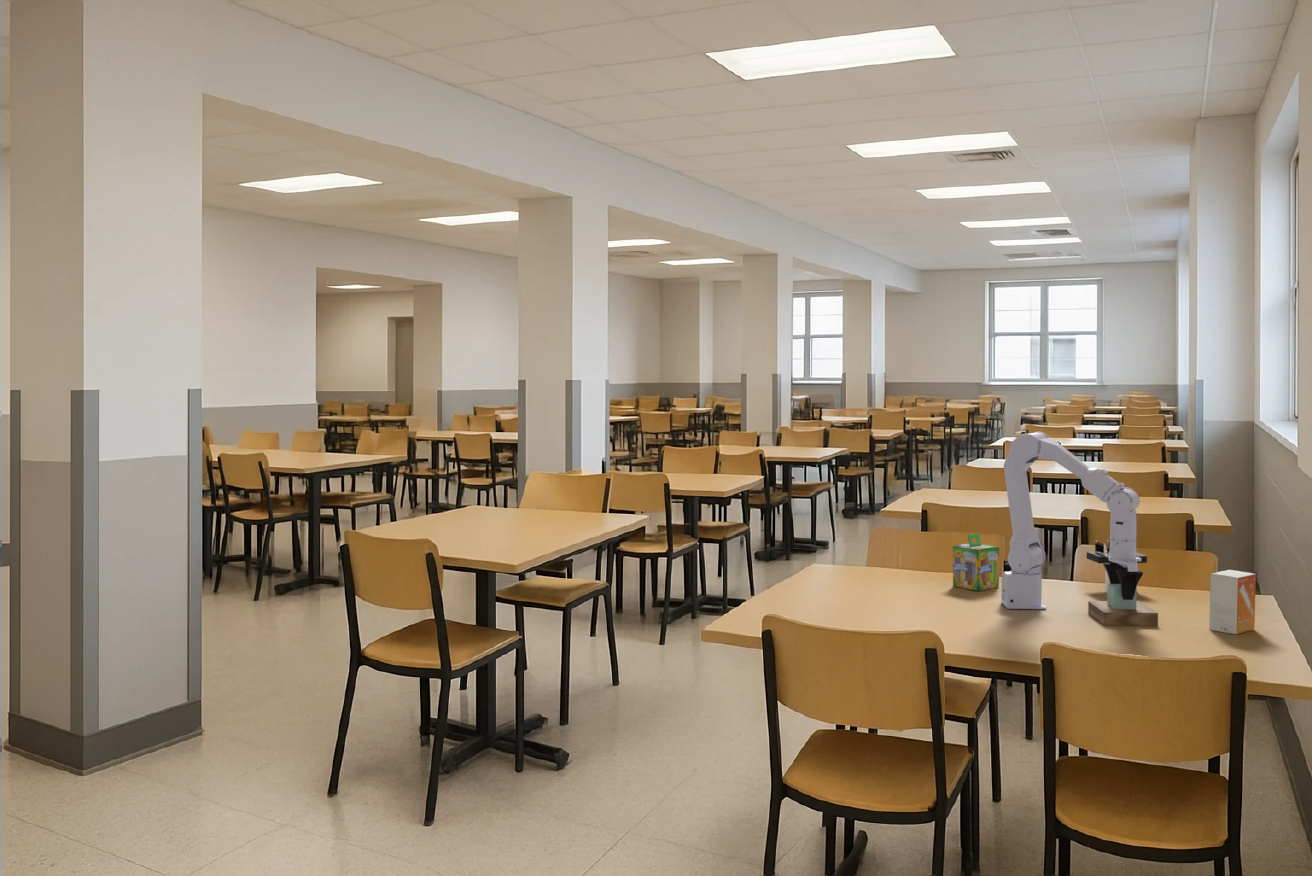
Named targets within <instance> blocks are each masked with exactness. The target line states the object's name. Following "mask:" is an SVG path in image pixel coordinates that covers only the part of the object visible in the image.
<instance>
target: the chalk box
mask: <svg viewBox="0 0 1312 876" xmlns="http://www.w3.org/2000/svg"><path fill="white" fill-rule="evenodd" d="M973 538H974V539H976V542H973ZM967 540H968V543H962V544H956V545H952V587H953V586H956V587H955V588H958V587H960V589H967V590H972V591H977V592H982V591H987V590H993V589H998V588H1000V582H999V581H1000V577H999V576H1000V547H998V546H993V545H989V544H982V542H981V537H980V534H979V533H978V532H975V533H970V534H969V533H968V534H967Z"/></svg>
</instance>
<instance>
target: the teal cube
mask: <svg viewBox="0 0 1312 876" xmlns="http://www.w3.org/2000/svg"><path fill="white" fill-rule="evenodd" d="M1137 594H1138V587H1137V588H1136V591H1135V594H1134V598H1133V600H1123V598H1122V593H1121V585H1120V584H1108V591H1107V594H1106V595H1107V597H1106V598H1107V600H1106V601H1107V604H1108V605H1109V606H1110V607H1112V608H1113V609H1136V601H1137Z"/></svg>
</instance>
